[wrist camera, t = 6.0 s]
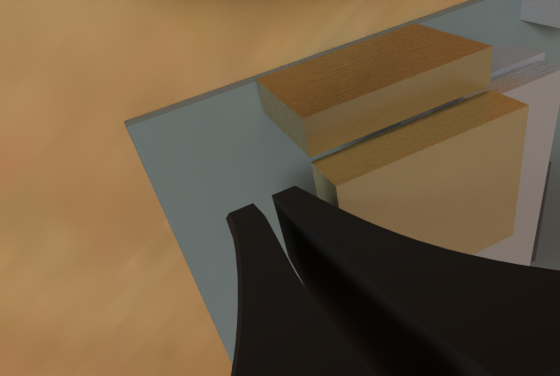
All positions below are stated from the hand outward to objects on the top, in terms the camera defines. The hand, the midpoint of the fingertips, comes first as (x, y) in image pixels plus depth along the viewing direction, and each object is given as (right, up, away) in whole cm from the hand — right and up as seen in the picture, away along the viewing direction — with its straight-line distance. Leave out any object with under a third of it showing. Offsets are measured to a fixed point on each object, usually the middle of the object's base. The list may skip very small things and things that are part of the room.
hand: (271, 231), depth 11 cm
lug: (+2, +3, +4) cm, 5 cm away
